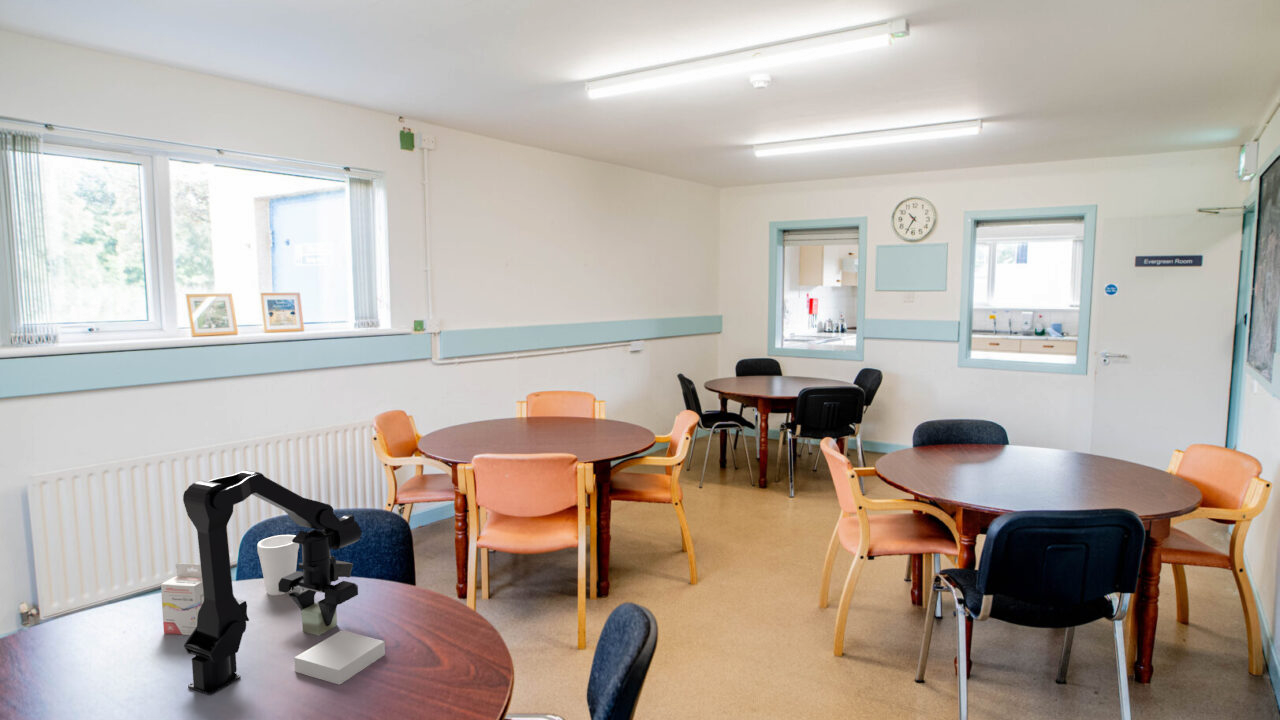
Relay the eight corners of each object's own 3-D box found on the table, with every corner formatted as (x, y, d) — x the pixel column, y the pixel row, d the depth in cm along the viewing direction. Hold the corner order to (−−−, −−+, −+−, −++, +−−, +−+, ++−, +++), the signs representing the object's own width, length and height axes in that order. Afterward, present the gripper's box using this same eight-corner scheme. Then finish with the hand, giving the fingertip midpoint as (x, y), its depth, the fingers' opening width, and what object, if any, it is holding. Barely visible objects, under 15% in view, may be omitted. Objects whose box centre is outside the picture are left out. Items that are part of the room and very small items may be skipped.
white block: (339, 684, 130) (338, 670, 130) (295, 671, 135) (294, 657, 135) (384, 654, 141) (384, 641, 141) (342, 643, 146) (341, 630, 146)
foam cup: (288, 598, 168) (286, 548, 167) (252, 598, 168) (249, 547, 167) (308, 582, 177) (305, 534, 176) (273, 582, 178) (271, 534, 176)
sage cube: (318, 635, 149) (318, 614, 149) (302, 631, 151) (301, 610, 151) (337, 625, 154) (336, 604, 154) (321, 621, 156) (320, 600, 156)
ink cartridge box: (162, 634, 150) (158, 571, 149) (179, 623, 155) (175, 562, 154) (197, 636, 149) (193, 572, 148) (214, 625, 154) (210, 563, 153)
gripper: (375, 550, 155) (377, 615, 156) (315, 539, 162) (318, 601, 164) (336, 568, 145) (339, 637, 146) (275, 555, 152) (278, 621, 153)
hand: (319, 623), depth 153 cm, fingers closed on sage cube, 5 cm apart
